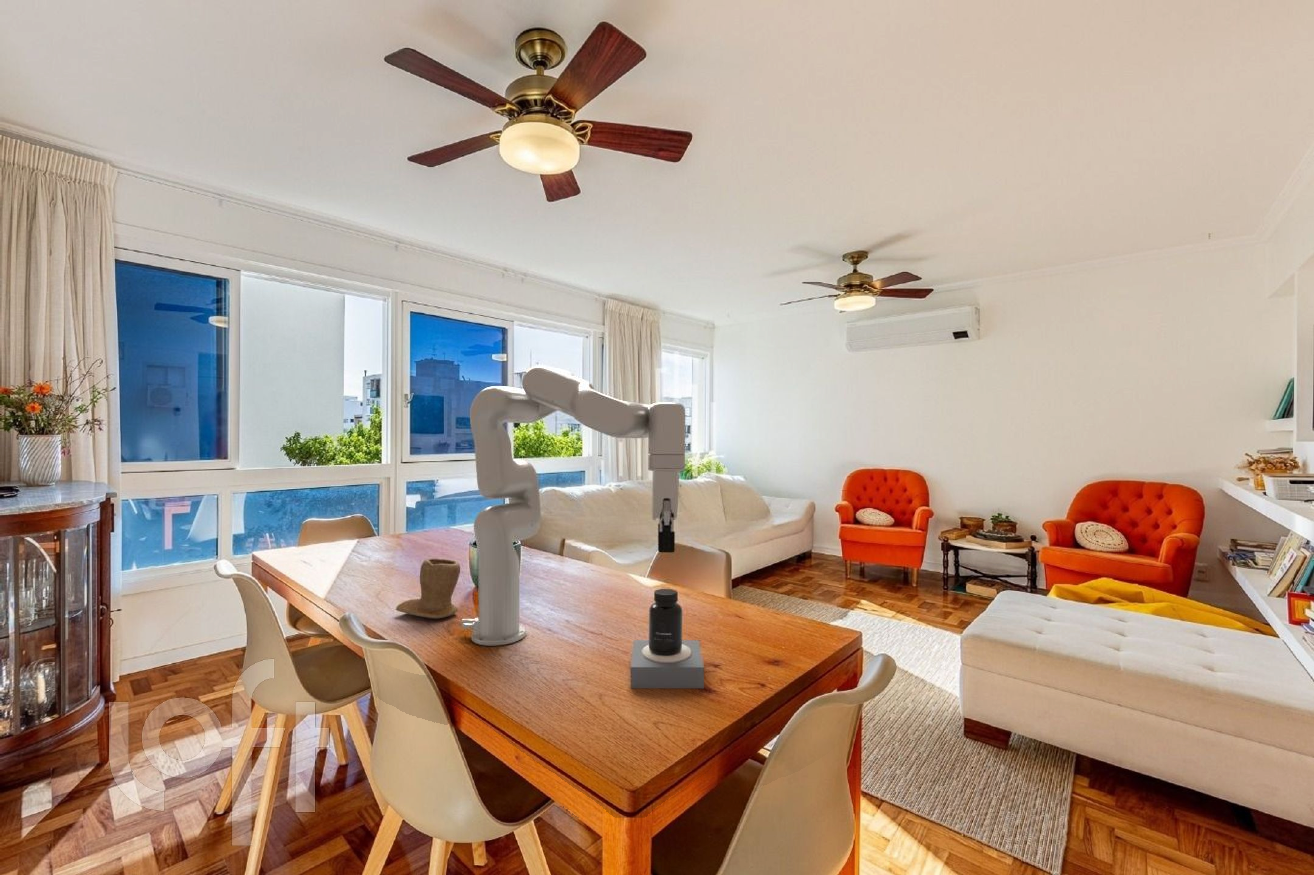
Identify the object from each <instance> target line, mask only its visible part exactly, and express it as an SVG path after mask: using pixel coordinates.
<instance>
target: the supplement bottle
mask: <svg viewBox="0 0 1314 875" xmlns="http://www.w3.org/2000/svg"><path fill="white" fill-rule="evenodd" d="M653 595H654V596H653V601H654V603H653V604H651V605H650V607H649V610H648V640H649V650H650V651H651V652H652V653H654V654H656V655H660V656H672V655H676V654H678V653H679V652H680V651H681V649H682V640H683V608H682V606H681V605H680V604H679V603H678V602H679V598H678V596H679V593H678V591H677V590H675V589H671V588H659V589H656V590H654V593H653Z"/></svg>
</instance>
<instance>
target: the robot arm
mask: <svg viewBox="0 0 1314 875" xmlns="http://www.w3.org/2000/svg"><path fill="white" fill-rule="evenodd" d="M521 380H522V381H521V386H522V388H520V387H519V388H517V387H511V386H502V385H497V386H495V385H494V386H489V387H486V388H484V389H482V390H481V391H479V392H478V393H477V395H476V396H475V397H474V399H473V400H472V403H471V406H470V408H469V421H470V422H469V423H470V427H471V432H472V436H473V442H474V456H475V471H476V482H477V483H476V484H477V488H478V489H477V490H478V491H479V494H480V495H481V497H483V498H485V499H487V500H504V499H508V503H501V504H494V505H490V506H487V507H486V508H484V509H482V510H481V511H479V513H478V514H477V515H476V517H475V519H474V522H473V534H474V538H475V543H476V548H477V549H476V551H477V565H478V567H477V568H478V569H477V570H478V572H477V574H478V580H477V581H478V582H477V583H478V585H477V586H478V588H477V589H478V591H477V592H478V595H477V597H478V599H477V600H478V602H477V604H478V610H477V611H478V613H477V615H478V616H477V617H475V618H474V619H473V618H462V619H461V622H460V626H461V628H462V629H463V630H472V633H471V636H470V637H471V641H472V642H473V643H475V644H476V645H480V646H488V647H489V646H496V647H497V646H504V645H509V644H513V643H516V642H518V641H520V640H522V639H523V638H525V636H526V634H527V628H526V627H525V626H524V625H521V624H520V558H519V555H518V553H517V551H516V548H515V546H514V543H515V542H519V541H523V540H527V539H530V538H532V537H533V536H535V535H536V534H537V533H538V531H539V529H540V526H541V523H542V511H541V498H540V497H541V496H540V485H539V478H538V474H537V471H536V469H535V467H534V466H533V465H532V463H530V462H529V461H527V460H524V459H521V458H513V454H512V442H511V441H512V440H511V438H510V435H509V434H508V431H507V430H506V429H505V427H504V424H505V423H512V424H513V423H515V424H532V423H536V422H538V421H541V420H542V419H544V418H547V417H548V416H551V415H552V414H553V413H555V412H561V413H563V414H566V415H568V416H570V417H572V418H573V419H574V420H576V421H577V422H579V423H580V424H581V425H583V426H585V427H587V428H590V429H591V430H594V431H596V432H599V433H602V434H604V435H606V436H608V437H612V438H616V439H646V438H648V442H647V443H648V445H647V448H648V452H647V454H648V456H647V457H648V460H647V464H648V465H647V466H648V468H647V470H648V471H651V472H652V486H651V487H652V490H651V492H652V498H651V499H652V501H651V502H652V504H651V505H652V508H651V509H652V510H651V511H652V512H651V513H652V518H651V519H652V520H653V521H656V519H658V521H659V522H658V524H657V527H658V528H657V531H658V532H657V543H658V544H657V545H658V546H657V551H658V552H659V553H674V552H676V551H675V547H676V546H675V541H676V540H675V539H676V537H675V536H676V534H675V533H676V532H675V531H674V529H675V528H674V522H675V521H676V520H677V518H678V509H679V497H680V496H679V494H680V492H679V490H680V489H679V487H680V472H683V471H686V407H685V406H684V405H683V404H682V403H678V402H669V401H668V402H662V401H661V402H655V403H652V404H649V403H647V404H646V403H641V402H635V401H626V400H621V399H618V398H613V397H611V396H609V395H606V394H603V393H601V392H599V391H596V390H595V389H594V386H593V384H592V383H591V382H590V381H588V380H585V379H583V378H580V377H576V376H575V375H574V374H573V373H572V372H570V371H568V370H566V369H563V368H558V367H552V366H547V365H536V366H533V367H530V368H529V369H528V370H527V371H526V372H525V373H524V374H523V376H522V379H521Z"/></svg>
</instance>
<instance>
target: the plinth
mask: <svg viewBox="0 0 1314 875" xmlns="http://www.w3.org/2000/svg"><path fill="white" fill-rule="evenodd" d="M630 689H705V665H704V661H703V657H702V653H701V647H700V640H699V639H697V640H694V639H693V640H690V639H688V640H687V639H686V640H685V639H684V640H683V639H682V649H681V651H680V652H679V653H678V654H676V655H672V656H660V655H656V654H654V653H652V652H651V651H650V650H649V639H648V640H647V639H645V640H644V639H642V640H640V639H639V640H638V639H634V640H633V643H632V653H631V661H630Z"/></svg>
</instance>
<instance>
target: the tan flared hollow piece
mask: <svg viewBox="0 0 1314 875" xmlns="http://www.w3.org/2000/svg"><path fill="white" fill-rule="evenodd" d="M460 574H461V565H460V563H459V562H458V561H456V560H452V559H445V558H434V557H433V558H430V557H429V558H426V559H424V561H423V562H422V563H421V565H420V571H419V585H420V592H421V595H420V598H413V599H409V600H405V601H403V602H400V603H399V604H398V605H397V606H395V607H396V608H395V610H396V611H397V612H400V613H403V614H409V615H412V616H417V617H421V618H426V619H427V618H428V619H443V618H447V617H450V616H452V615H453V616H454V614H456V613H457V612H459V607H457V606H456V605H454V604H453V603H452V597H453V594H454V591H455V589H456V587H457V583H458V581H459V578H460Z"/></svg>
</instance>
